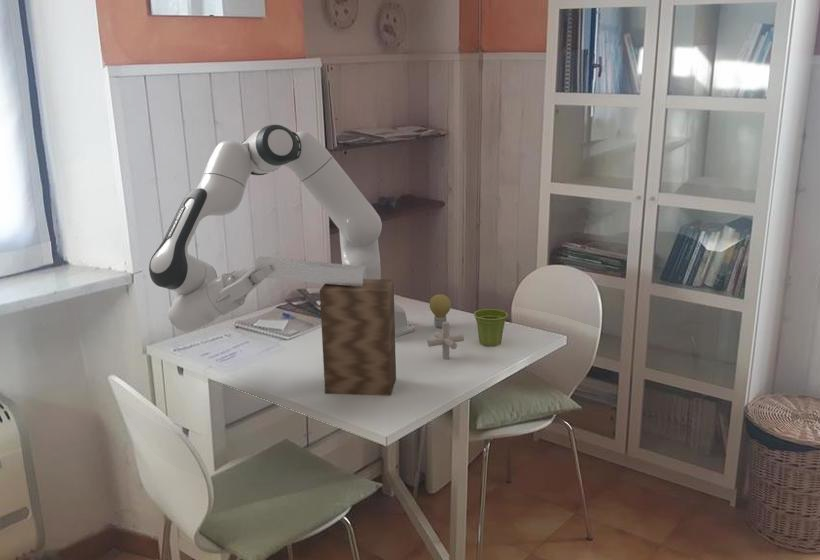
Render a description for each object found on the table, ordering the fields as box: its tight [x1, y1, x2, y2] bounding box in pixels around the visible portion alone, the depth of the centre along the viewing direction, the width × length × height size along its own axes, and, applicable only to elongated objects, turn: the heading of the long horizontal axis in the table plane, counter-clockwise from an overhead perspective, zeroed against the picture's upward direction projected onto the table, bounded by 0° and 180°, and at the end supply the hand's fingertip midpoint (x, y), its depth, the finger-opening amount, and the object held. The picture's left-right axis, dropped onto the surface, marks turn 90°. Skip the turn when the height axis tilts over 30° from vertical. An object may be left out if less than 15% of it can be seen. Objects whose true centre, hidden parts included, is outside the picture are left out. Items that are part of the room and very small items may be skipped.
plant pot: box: [473, 308, 509, 347], centre depth 218 cm, size 9×9×9 cm
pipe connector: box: [427, 321, 465, 360], centre depth 207 cm, size 10×10×10 cm
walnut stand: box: [319, 278, 397, 396], centre depth 188 cm, size 16×10×26 cm, turn 84°
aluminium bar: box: [254, 255, 366, 287], centre depth 185 cm, size 26×4×4 cm, turn 84°
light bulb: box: [429, 293, 452, 329], centre depth 232 cm, size 6×6×10 cm
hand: (274, 265), depth 185 cm, fingers closed on aluminium bar, 4 cm apart
